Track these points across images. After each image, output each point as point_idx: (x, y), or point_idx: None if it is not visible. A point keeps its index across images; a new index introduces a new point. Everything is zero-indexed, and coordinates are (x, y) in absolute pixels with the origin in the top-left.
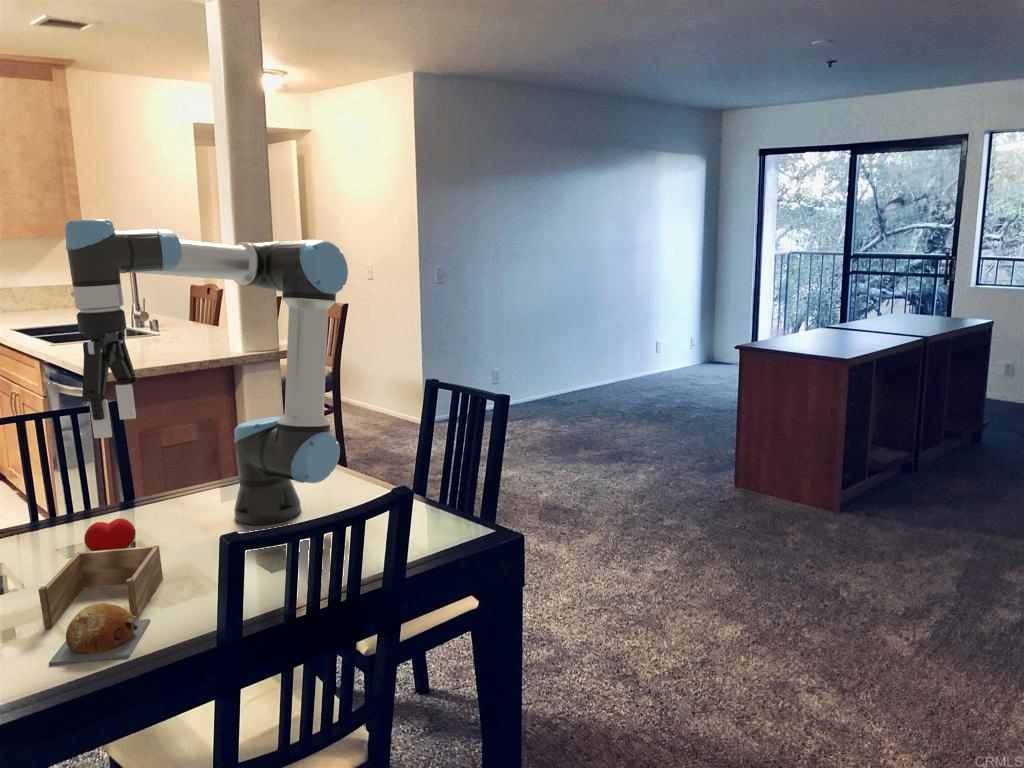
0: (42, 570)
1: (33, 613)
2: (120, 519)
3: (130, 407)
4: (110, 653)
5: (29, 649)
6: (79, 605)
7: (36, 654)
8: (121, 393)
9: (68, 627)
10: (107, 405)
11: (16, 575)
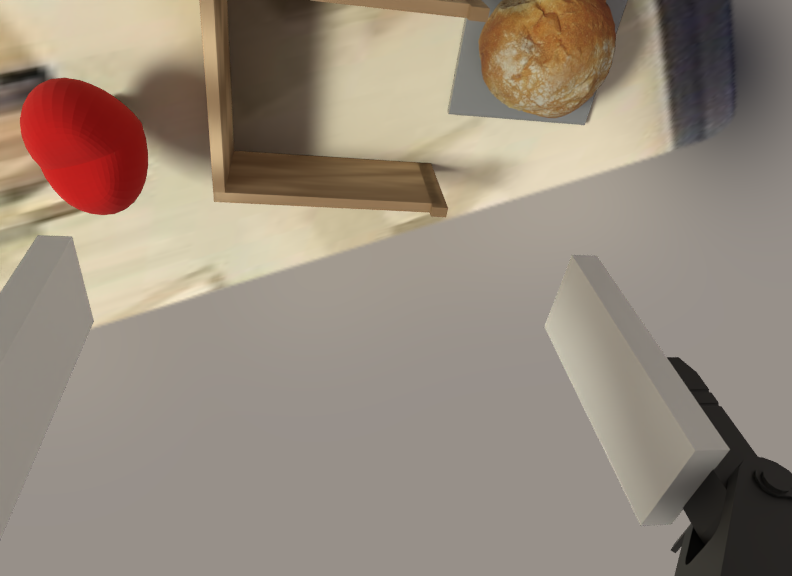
0: (116, 263)
1: (341, 214)
2: (53, 137)
3: (48, 314)
4: (612, 10)
5: (498, 175)
6: (329, 137)
7: (525, 157)
8: (12, 458)
9: (564, 115)
10: (682, 408)
11: (139, 300)
